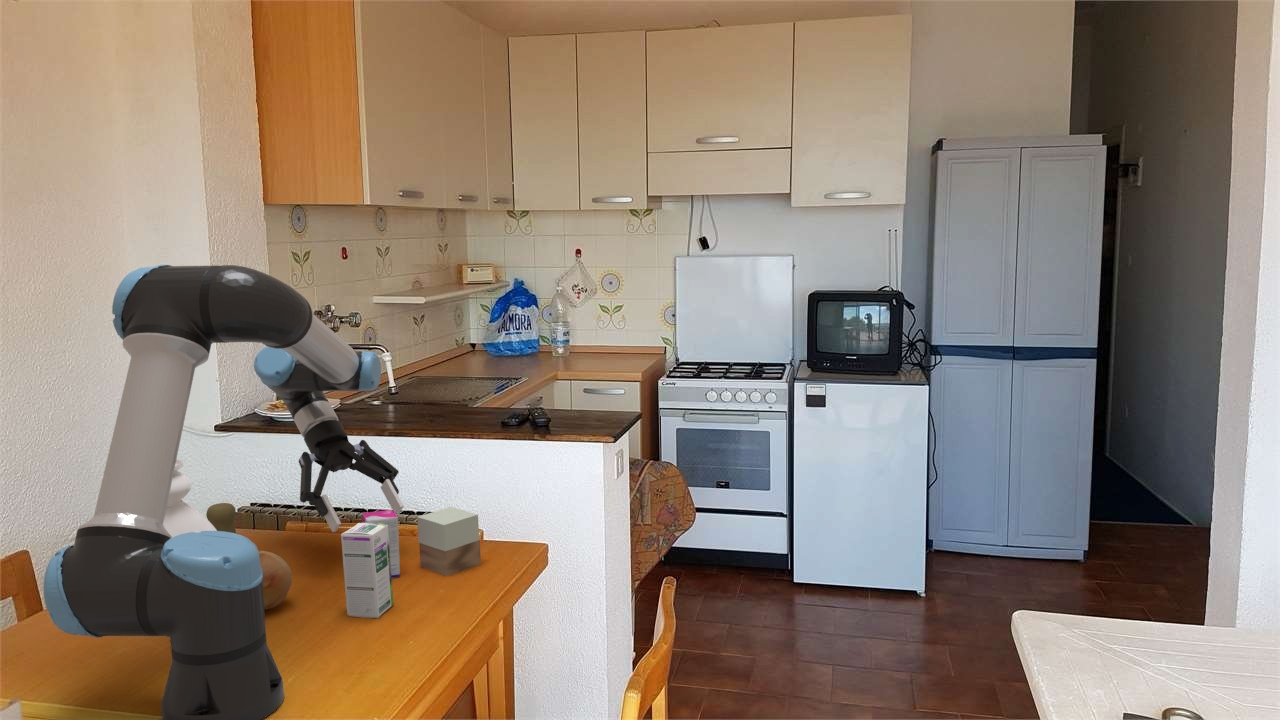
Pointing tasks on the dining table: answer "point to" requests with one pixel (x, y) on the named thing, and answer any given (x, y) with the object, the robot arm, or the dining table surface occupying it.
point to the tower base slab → (450, 558)
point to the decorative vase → (182, 508)
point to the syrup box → (367, 570)
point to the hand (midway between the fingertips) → (369, 519)
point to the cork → (222, 517)
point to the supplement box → (392, 522)
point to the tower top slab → (448, 528)
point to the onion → (274, 579)
